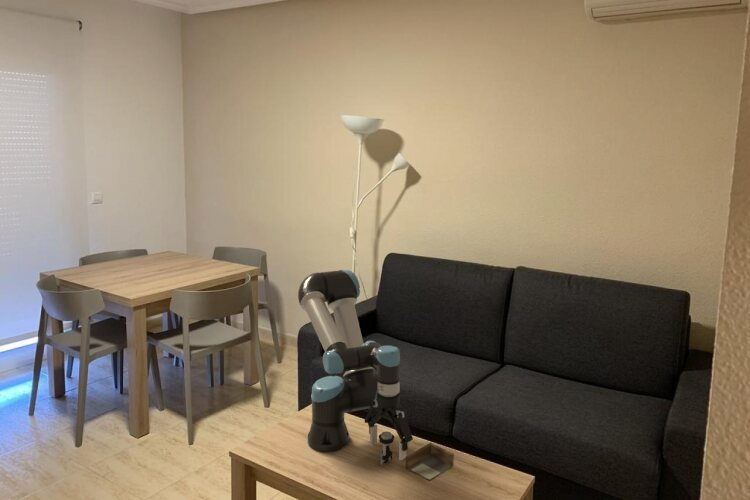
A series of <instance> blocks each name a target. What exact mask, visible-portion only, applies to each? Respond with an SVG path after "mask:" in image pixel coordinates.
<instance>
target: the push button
mask: <svg viewBox="0 0 750 500" xmlns="http://www.w3.org/2000/svg"><path fill="white" fill-rule="evenodd" d="M378 439H379V440H378V441H379V443H381V444H382V449H381V456H380V464H379V465H380V466H383V465H387V463H388V462H391V460H392V459H393V451H391V444H393V443H394V440H395V435H394V434H392V432H390V431H388V430H387V431H383V432H381V433H380V434H379V435H378Z"/></svg>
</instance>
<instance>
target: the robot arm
mask: <svg viewBox="0 0 750 500" xmlns="http://www.w3.org/2000/svg"><path fill="white" fill-rule="evenodd" d="M360 288H361V286H360V282H359V279H358V277H357V275H356V274H355V273H354V272H353V271H352V270H350V269H338V270H332V271H330V270H329V271H322V272H314V273H311V274H310V275H307V276H306V277H305V278H304V279H303V280H302V282H301V283H300V285H299V288H298V292H297V298H298V303H299V305H300V307H301V309H302V311H305V312H306V314H307V315H308V318H309V320H310V322H311V325H312V328H314V331H315V333H316V335H317V337H318V340H319V342H320V344H321V345H322V348H323V350H324V353H323V354H322V355H323V356H322V364H323V369H324V370H325V372H326V373H328V374H329V375H328V376H324V377H322V378H319V379H318V380H316V381H315V382H314V383H313V385H312V387H311V396H310V398H311V419H312V420H311V424H310V429H309V431H308V434H307V444H308V446H309V447H310V448H311V449H313V450H315V451H319V452H329V453H330V452H336V451H340V450H342V449H344V448H345V447H347V446H348V445H349V444H350V433H349V430H348V427H347V425H346V422H345V414H348V413H352V412H357V411H361V410H362V411H363V410H366V409H369V410H368V411H367V414H366V416H365V419H364V424H367V425H368V434H369V439H370V440H369V441H370V443H369V445H370V446H373V445H375V444H377V443H378V424H377V423H378V422H379V421H380V420H381V419H385V420H387V421H389V422H390V424H391V425H392V426H393V427H394V429H395V431H396V433H397V436H398V437H399V441H398V445H399V447H398V460H399V461H403V460H404V459H406V456H407V451H408V448H409V446H408V445H409V443H410V442H411V441H413V440H414V438H413V435H412V431H411V428H410V426H409V422H408V419H407V412H406V411H405V410H402V411H401V410H399V404H400V391H401V390H400V388H401V387H400V386H401V385H400V380H401V379H400V375H401V369H400V368H401V356H400V355H401V353H400V352H401V351H400V349H399V348H398V347H397V346H393V345H387V344H386V345H382V344H380V343H379V342H376V341H374V340H367V341H365V342H364V339H363V336H362V332H361V328H360V322H359V319H358V314H357V310H356V304H357V302H358V298H359V297H360V294H361V290H360ZM326 303H327V304H326ZM330 310H332V311H333V316H332V314H331V312H330ZM333 317H334V319H333ZM375 370H376V373H375ZM344 372H345V373H344ZM341 373H344V374H343V376H342V377H341V376H339V375H334V376H333V375H330V374H341ZM377 410H378V412H377ZM376 412H377V413H376Z"/></svg>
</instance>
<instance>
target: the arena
mask: <svg viewBox="0 0 750 500" xmlns="http://www.w3.org/2000/svg"><path fill="white" fill-rule="evenodd" d="M454 456H455V454H454V453H453V452H451V451H449V450H447V449H444V448H443V447H441V446H438V445H437V444H434V443H432V442H429V443H427V444H425V445H424V446H422V447H420V448H418V449H417V450H415V451H413V452H412V453H409V454H407V455H406V458H405V459H406V460H405V462H406V463H405V465H406V466H405V468H406V469H407V470H409V471H411V472H412V473H414V474H416V475H418V476H420V477H422V478H423V479H426V480H427V481H429V482H430V481H432V480H434V479H435V478H436V477H438V476H440V475H441V474H443V473H444V472H446V471H447V470H449V469H451V468H452V467H454V461H455V459H454V458H455V457H454Z"/></svg>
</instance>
